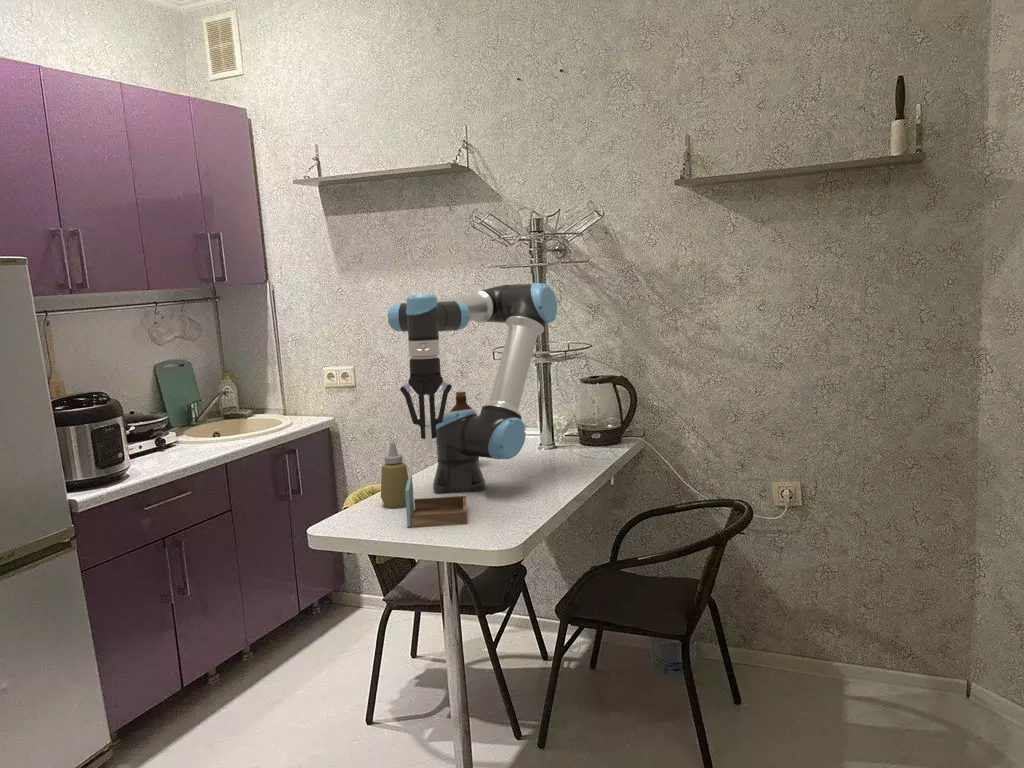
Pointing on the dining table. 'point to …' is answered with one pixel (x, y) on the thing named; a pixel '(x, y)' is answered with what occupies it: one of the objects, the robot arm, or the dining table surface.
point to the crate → (439, 512)
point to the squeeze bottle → (393, 480)
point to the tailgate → (409, 500)
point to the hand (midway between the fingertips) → (429, 451)
